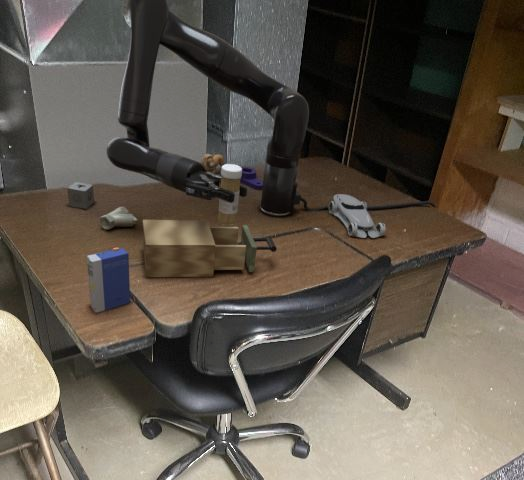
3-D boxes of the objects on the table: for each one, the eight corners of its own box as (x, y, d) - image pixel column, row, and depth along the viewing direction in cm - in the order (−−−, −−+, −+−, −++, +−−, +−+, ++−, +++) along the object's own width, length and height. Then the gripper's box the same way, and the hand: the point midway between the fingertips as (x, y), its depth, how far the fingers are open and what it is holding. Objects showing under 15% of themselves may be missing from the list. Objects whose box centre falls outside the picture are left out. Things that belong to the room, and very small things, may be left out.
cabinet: (205, 250, 141) (207, 220, 136) (213, 276, 131) (215, 244, 126) (143, 250, 137) (142, 219, 132) (146, 277, 127) (145, 244, 122)
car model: (350, 239, 156) (354, 222, 153) (322, 203, 175) (325, 188, 172) (386, 238, 159) (390, 222, 156) (354, 204, 178) (358, 189, 175)
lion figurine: (211, 186, 176) (213, 157, 171) (196, 182, 177) (197, 154, 172) (228, 172, 188) (230, 145, 182) (213, 169, 189) (215, 142, 183)
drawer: (266, 249, 144) (269, 225, 140) (277, 271, 135) (280, 247, 131) (187, 248, 139) (188, 224, 135) (193, 272, 130) (194, 247, 126)
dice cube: (94, 202, 157) (92, 185, 154) (86, 209, 153) (85, 191, 150) (77, 199, 157) (75, 181, 154) (69, 205, 153) (67, 188, 150)
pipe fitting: (139, 226, 149) (118, 217, 150) (140, 212, 146) (118, 204, 148) (121, 236, 143) (99, 227, 144) (121, 223, 140) (99, 213, 142)
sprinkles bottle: (228, 218, 134) (234, 162, 126) (240, 225, 131) (246, 169, 123) (213, 221, 131) (217, 164, 123) (224, 229, 128) (229, 171, 120)
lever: (232, 177, 185) (233, 167, 183) (248, 175, 188) (249, 165, 186) (253, 190, 177) (254, 180, 175) (269, 188, 180) (270, 178, 179)
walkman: (123, 296, 120) (121, 245, 113) (130, 302, 118) (128, 251, 111) (89, 306, 115) (84, 254, 108) (95, 313, 114) (91, 260, 107)
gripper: (160, 163, 124) (222, 187, 118) (200, 151, 134) (259, 171, 128) (159, 196, 129) (219, 220, 122) (198, 181, 139) (255, 202, 133)
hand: (239, 195), depth 125 cm, fingers closed on sprinkles bottle, 4 cm apart
